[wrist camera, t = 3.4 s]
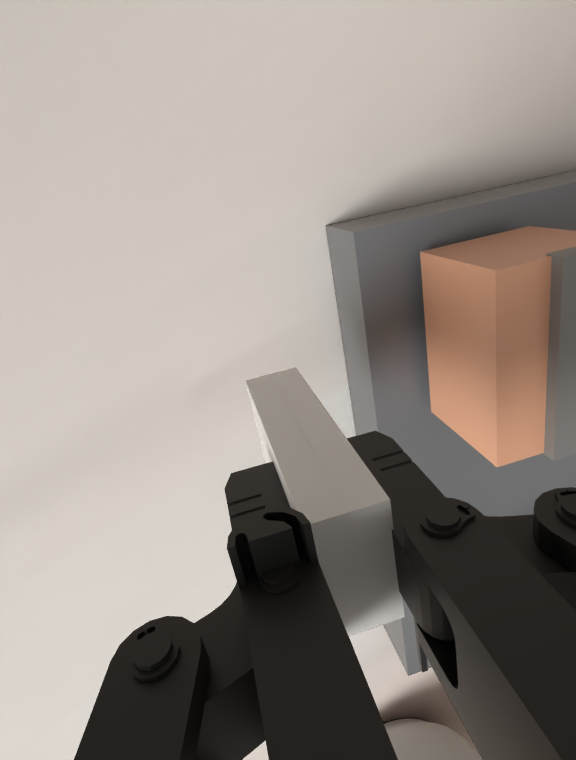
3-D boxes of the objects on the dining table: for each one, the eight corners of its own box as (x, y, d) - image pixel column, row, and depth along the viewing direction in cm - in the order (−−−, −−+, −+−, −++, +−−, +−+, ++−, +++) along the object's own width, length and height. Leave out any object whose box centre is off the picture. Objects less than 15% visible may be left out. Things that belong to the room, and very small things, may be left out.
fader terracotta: (419, 250, 16) (505, 271, 12) (528, 224, 16) (646, 235, 12) (431, 412, 18) (505, 476, 14) (525, 385, 19) (622, 439, 15)
